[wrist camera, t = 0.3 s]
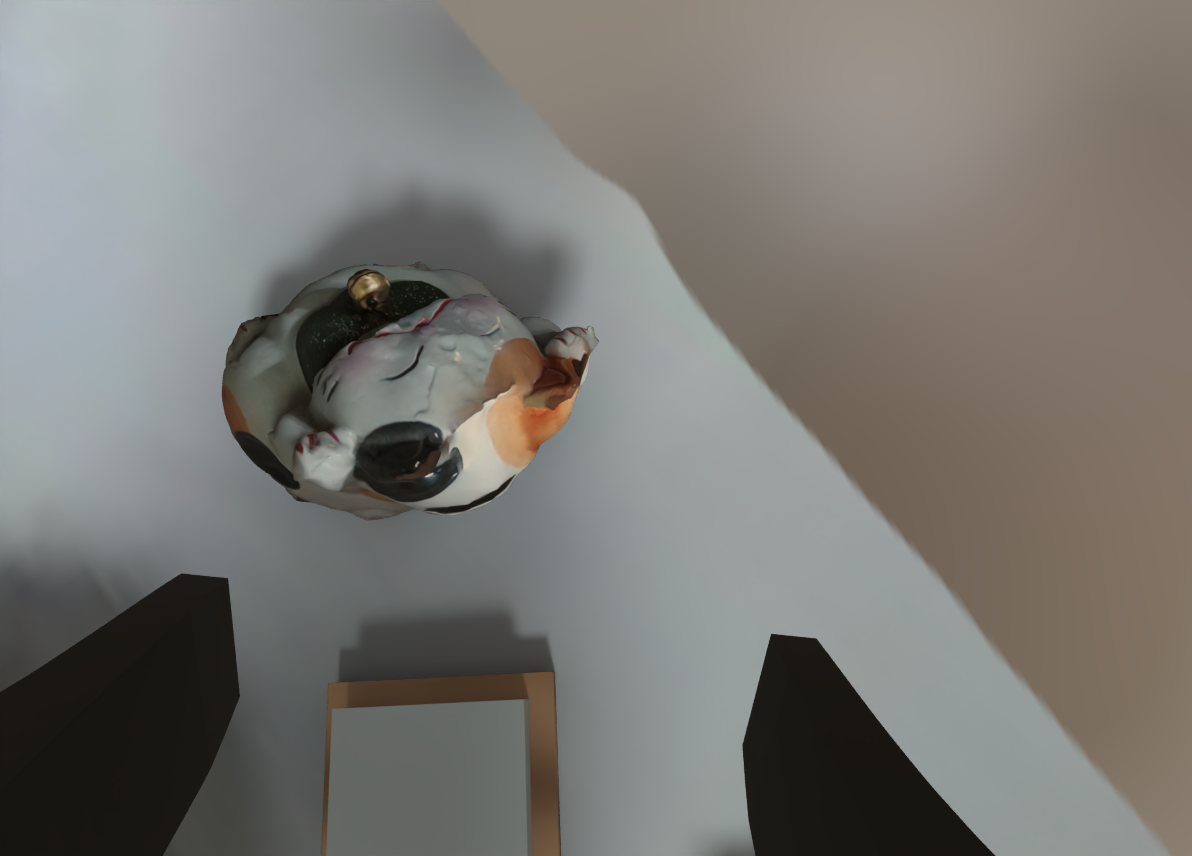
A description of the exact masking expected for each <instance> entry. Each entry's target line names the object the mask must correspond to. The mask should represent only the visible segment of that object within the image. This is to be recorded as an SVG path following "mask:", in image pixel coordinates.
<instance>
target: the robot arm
mask: <svg viewBox="0 0 1192 856" xmlns="http://www.w3.org/2000/svg"><path fill="white" fill-rule="evenodd" d="M239 697H240V693H239V683H238V673H237V663H236V653H235V643H234V633H233V624H232V614H231V604H230V594H229V584H228V578H220V577H210V576H200V575H190V574H180V575H178V576H177V577H175V578H174V579H172V580H170V581H169V582H167V583H166V584H164V585H163V586H161V587H160V588H158V589H157V590H155V591H154V592H152V593H151V594H149V595H148V596H146V597H145V598H143V599H142V600H140V601H139V602H137V603H136V604H134V605H133V606H131V607H130V608H129V609H127V610H126V611H124V612H123V613H121V614H120V615H118V616H117V617H115V618H114V619H112V620H111V621H109V622H108V623H107V624H105V625H104V626H102V627H101V628H99V629H98V630H96V631H95V632H93V633H92V634H90V635H89V636H87V637H86V638H84V639H83V640H81V641H80V642H78V643H77V644H75V645H74V646H72V647H71V648H69V649H68V650H66V651H65V652H63V653H62V654H60V655H59V656H57V657H56V658H54V659H53V660H51V661H49V662H48V663H46V664H45V665H43V666H42V667H40V668H39V669H37V670H36V671H34V672H33V673H31V674H29V675H28V676H26V677H25V678H23V679H21V680H20V681H18V682H16V683H15V684H13V685H11V686H10V687H8V688H6V689H5V690H3V691H2V692H0V856H163V854H164V852H165V851H166V849H167V847H168V845H169V843H170V842H171V840H172V838H173V836H174V834H175V833H176V831H177V829H178V827H179V826H180V824H181V822H182V820H183V818H184V816H185V815H186V813H187V811H188V809H189V807H190V806H191V804H192V802H193V800H194V798H195V796H196V795H197V793H198V791H199V789H200V787H201V786H202V784H203V782H204V780H205V778H206V776H207V774H208V772H209V771H210V769H211V766H212V764H213V762H214V759H215V757H216V755H217V752H218V750H219V747H220V745H221V743H222V740H223V738H224V735H225V733H226V730H227V728H228V725H229V723H230V720H231V717H232V715H233V712H234V710H235V707H236V705H237V702H238V699H239ZM743 759H744V773H745V786H746V797H747V808H748V818H749V824H750V830H751V835H752V840H753V845H754V850H755V855H756V856H995V855H994V854H993V853H992V852H991V851H990V850H989V849H988V848H987V847H986V846H985V845H984V844H983V843H982V841H981V840H980V839H979V838H978V837H977V836H976V835H975V834H974V833H973V832H972V831H971V830H970V829H969V828H968V826H967V825H966V824H965V823H964V822H963V821H962V820H961V819H960V818H959V816H958V815H957V814H956V813H955V812H954V811H953V810H952V809H951V808H950V806H949V805H948V804H947V803H946V802H945V801H944V800H943V799H942V798H941V796H940V795H939V794H938V793H937V792H936V791H935V790H934V788H933V787H932V786H931V785H930V784H929V783H928V781H927V780H926V779H925V778H924V777H923V776H922V774H921V773H920V772H919V771H918V769H917V768H916V767H915V766H914V765H913V763H912V762H911V761H910V760H909V758H908V757H907V756H906V755H905V753H904V752H903V751H902V750H901V749H900V747H899V746H898V745H897V744H896V742H895V741H894V740H893V739H892V737H891V736H890V735H889V734H888V732H887V731H886V730H885V728H884V727H883V726H882V725H881V723H880V722H879V721H878V720H877V718H876V717H875V716H874V714H873V713H872V712H871V710H870V709H869V708H868V706H867V705H866V704H865V702H864V701H863V700H862V698H861V697H860V696H859V695H858V693H857V692H856V691H855V689H854V688H853V687H852V685H851V684H850V683H849V681H848V680H847V678H846V677H845V676H844V674H843V673H842V672H841V670H840V669H839V668H838V666H837V665H836V664H835V662H834V661H833V660H832V658H831V657H830V656H829V654H828V653H827V652H826V651H825V649H824V648H823V647H822V645H821V644H820V643H819V641H818V640H817V639H816V638H806V637H796V636H786V635H777V634H771V637H770V640H769V644H768V648H767V652H766V656H765V660H764V664H763V668H762V672H761V675H760V679H759V683H758V687H757V691H756V695H755V699H754V703H753V707H752V711H751V714H750V718H749V722H748V726H747V730H746V734H745V738H744V742H743Z"/></svg>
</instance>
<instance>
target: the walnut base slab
mask: <svg viewBox="0 0 1192 856" xmlns="http://www.w3.org/2000/svg"><path fill="white" fill-rule="evenodd" d="M516 699H529V731H530V772H531V813H532V855H533V856H561V838H560V807H559V777H558V747H557V716H556V686H555V672H534V673H515V674H495V675H475V676H456V677H436V678H416V679H397V680H377V681H357V682H337V683H329V684H328V708H327V731H326V755H325V778H324V802H323V825H322V849H321V856H326V848H327V823H328V798H329V773H330V748H331V723H332V709H341V708H359V707H379V706H398V705H418V704H438V703H457V702H477V701H497V700H516Z"/></svg>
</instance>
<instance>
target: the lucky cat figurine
mask: <svg viewBox="0 0 1192 856" xmlns="http://www.w3.org/2000/svg"><path fill="white" fill-rule="evenodd" d="M598 343H599V340H598V339H597V338H596V336H595V334H594V330H593V327H591V326H588V327H587V329H584V328H581V327H570V328H566V329H564V330H563V331H562V330H561V329H560V328H559V327H558V326H557V325H555V324H554V323H552V322H550V321H549V320H546V319H540V318H538V317H527V318H523V319H520V320H519V319H518V318H517V317H516V316H515V315H514V313H513V312H511V311H510V310H509V309H508V308H507V307H505V306H504V305H503V304H502V303H501V302H500V301H499V300H498V299H497V298H495V297H493V296H492V295H491V293H490V292H489V290H488V289H487V288H486V287H485V286H484V285H483V284H482V283H481V282H480V281H479V280H477V279H476V278H475V277H472V276H470V275H467V274H464V273H462V272H459V271H454V270H447V269H440V270H430V269H429V268H428V267H427V266H426V265H425V264H421V263H420V262H417V263H415V264H413V265H409V266H386V267H385V266H381V265H377V264H373V265H360V266H353V267H348V268H344V269H341V270H339V271H336V272H334V273H333V274H331V275H329V276H327V277H325V278H323V279H320V280H318V281H316V282H314V283H311V284H309V285H308V286H307V287H305V288H304V289H303V290H302V291H301V292H300V293H299V294H298V295H297V296H296V297H295V298H294V299H293V300H292V301H291V303H290V304H289V305H288V306H287V307H286V308H285V309H284V311H283V312H281V313H280V314H274V315H267V316H261V318H259V317H256V318H254V319H252V320H248V321H246V322H244V323H241V325H240V326H239V328H238V331H237V334H236V336H235V338H234V339H233V342H232V344H231V345H230V346H229V348H228V352H227V357H226V368H225V370H224V374H223V382H222V401H223V406H224V411H225V416H226V419H227V421H228V423H229V426H230V429H231V431H232V434H233V436H234V437H235V439H236V440H237V442H238V443H239V445H240V446H241V448H242V449H243V451H244V452H245V453H246V455H247V456H248V457H249V458H250V459H251V460H252V461H253V462H254V463H255V464H256V465H257V466H258V467H259V468H261V469H262V470H263V471H265V472H266V473H268V474H270V475H271V477H272V478H273V479H274V480H275V481H277V482H278V483H280V484H281V485H282V486H284V487H285V488H286V490H287V492H288V493H289V494H291V495H292V496H293V498H294V499H295V500H297V501H301V502H312V503H317V504H319V505H323V506H326V507H328V508H332V509H337V510H342V511H347V512H350V513H352V514H354V515H356V516H358V517H360V518H363V519H365V520H377V519H382V518H387V517H392V516H395V515H398V514H401V513H403V512H406V511H408V510H412V509H418V510H421V511H424V512H427V513H429V514H437V515H456V514H461V513H464V512H466V511H470V510H475V509H477V508H480V507H482V506H484V505H486V504H488V503H489V502H491V501H492V500H494V499H495V498H497V497H499V496H500V495H502V494H503V493H504V492H505V491H506V490H507V489H508V488H509V486H510V485H511V483H512V482H513V481H514V479H515V478H516V476H517V475H518V474H519V473H520V472H521V471H522V470H523V469H524V468H525V467H526V466H527V465H529V463H530V462H531V460H532V459H533V458H534V457H535V456H536V453H537V451H538V448H539V446H540V445H541V444H542V443H543V442H545V441H546V440H548V439H549V438H550V437H552V436H553V435H554V434H555V433H556V432H558V431H559V430H560V429H561V427H562V426H563V425H564V424H565V423H566V421H567V420H568V418H569V416H570V412H571V409H572V407H573V404H574V401H575V399H576V396H577V393H578V390H579V387H580V386H581V385H582V384H583V383H584V381H585V379H586V376H587V373H588V369H589V358H590V356H591V353H592V351H593V349H594V348H595V346H596V345H597V344H598Z"/></svg>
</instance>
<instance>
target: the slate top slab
mask: <svg viewBox="0 0 1192 856" xmlns="http://www.w3.org/2000/svg"><path fill="white" fill-rule="evenodd" d="M326 856H533V855H532V813H531V772H530V731H529V699H516V700H497V701H477V702H457V703H438V704H418V705H398V706H379V707H359V708H341V709H332V723H331V748H330V773H329V798H328V823H327V848H326Z"/></svg>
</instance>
